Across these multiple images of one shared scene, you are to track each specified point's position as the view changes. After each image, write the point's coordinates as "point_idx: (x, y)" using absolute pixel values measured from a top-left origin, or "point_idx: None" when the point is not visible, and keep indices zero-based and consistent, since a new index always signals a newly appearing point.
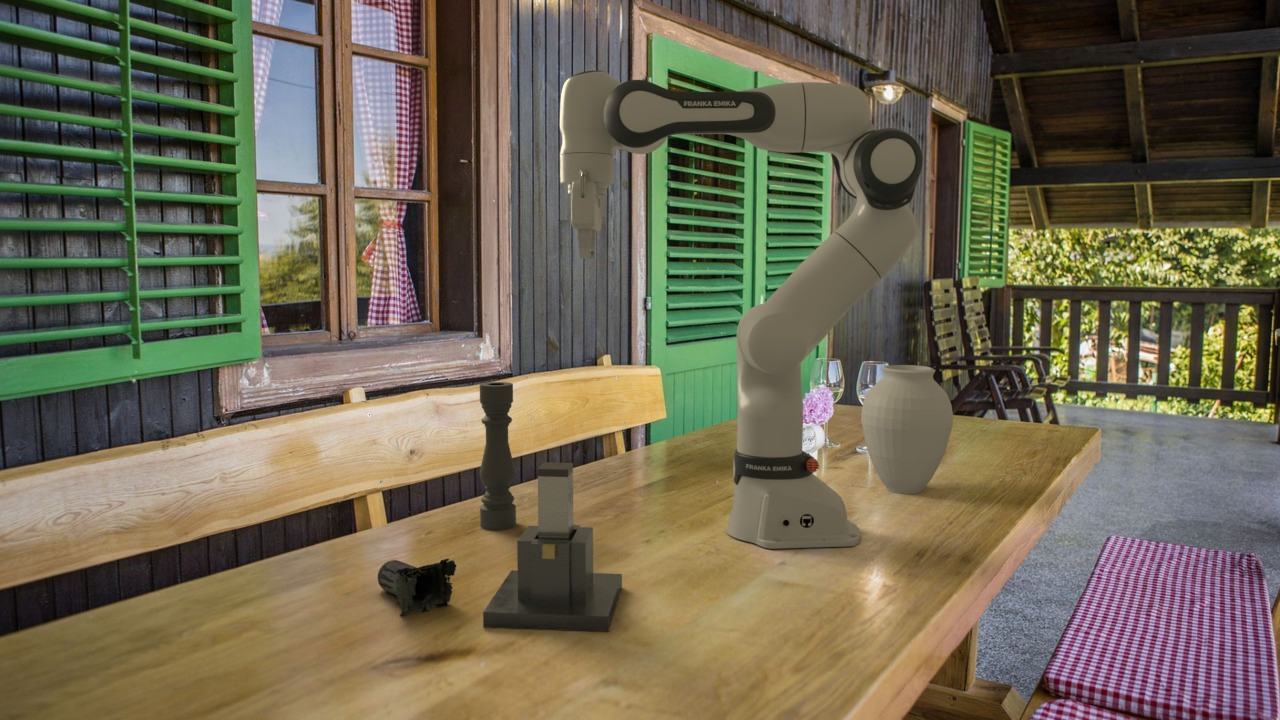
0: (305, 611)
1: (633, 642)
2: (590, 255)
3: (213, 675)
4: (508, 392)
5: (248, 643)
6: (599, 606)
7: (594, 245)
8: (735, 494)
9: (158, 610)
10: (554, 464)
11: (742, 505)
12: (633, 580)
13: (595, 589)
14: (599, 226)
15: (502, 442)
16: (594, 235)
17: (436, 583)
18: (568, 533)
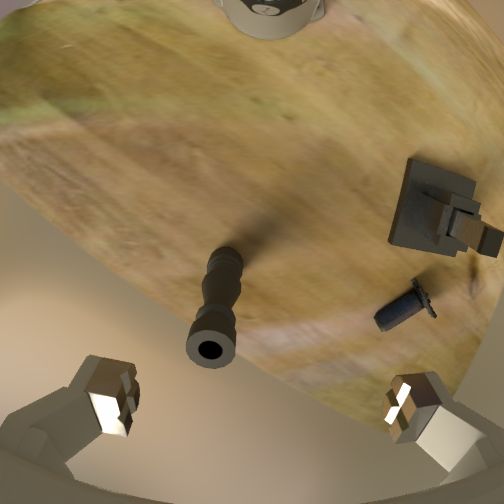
0: (399, 350)
1: (483, 167)
2: (437, 374)
3: (455, 356)
4: (226, 328)
5: (430, 358)
6: (463, 185)
7: (75, 400)
8: (274, 19)
9: (375, 407)
10: (489, 244)
11: (292, 19)
12: (394, 146)
13: (438, 183)
14: (47, 495)
15: (229, 299)
16: (47, 447)
17: (417, 292)
18: (474, 216)
